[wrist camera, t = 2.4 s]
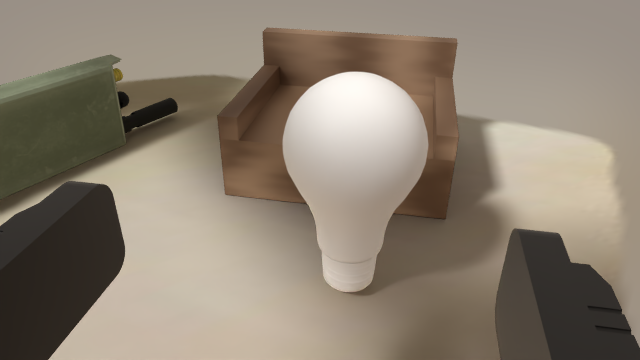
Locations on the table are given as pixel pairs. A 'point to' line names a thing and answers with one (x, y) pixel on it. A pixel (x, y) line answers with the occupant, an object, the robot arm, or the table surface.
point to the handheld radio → (64, 121)
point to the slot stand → (322, 62)
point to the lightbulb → (354, 166)
